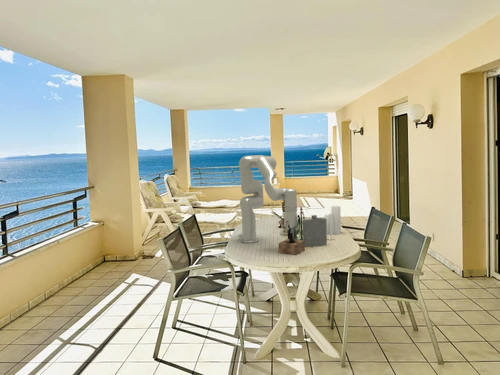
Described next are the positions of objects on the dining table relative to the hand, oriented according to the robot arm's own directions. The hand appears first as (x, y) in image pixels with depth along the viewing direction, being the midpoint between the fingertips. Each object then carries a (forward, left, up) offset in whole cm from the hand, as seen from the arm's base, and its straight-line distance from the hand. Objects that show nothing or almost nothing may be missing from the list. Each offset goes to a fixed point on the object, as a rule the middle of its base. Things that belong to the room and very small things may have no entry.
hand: (291, 238), depth 244 cm
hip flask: (+7, +20, -9) cm, 23 cm away
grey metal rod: (0, 0, -3) cm, 3 cm away
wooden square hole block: (0, 0, -9) cm, 9 cm away
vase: (+6, +57, -9) cm, 58 cm away
